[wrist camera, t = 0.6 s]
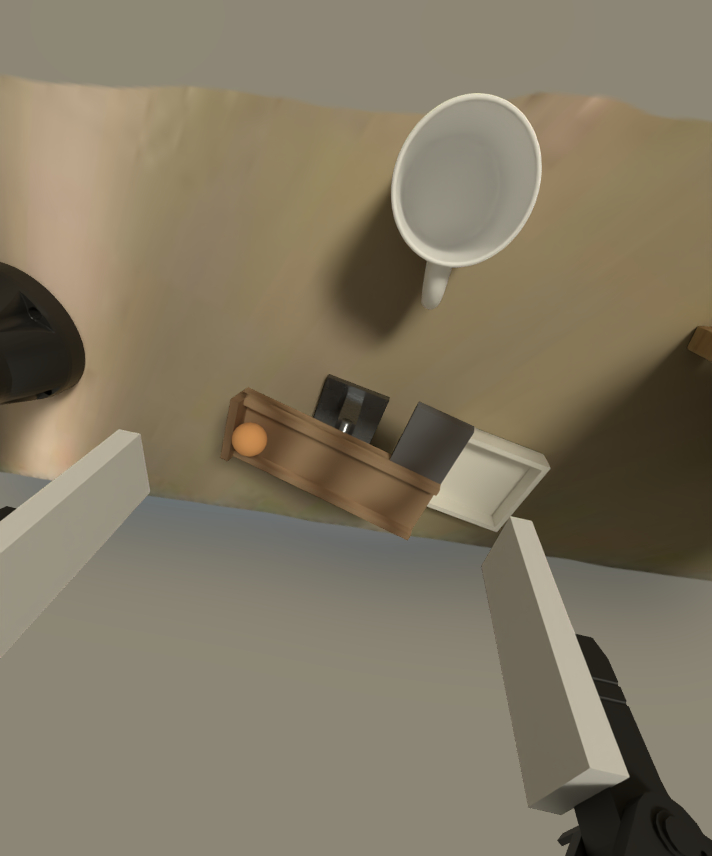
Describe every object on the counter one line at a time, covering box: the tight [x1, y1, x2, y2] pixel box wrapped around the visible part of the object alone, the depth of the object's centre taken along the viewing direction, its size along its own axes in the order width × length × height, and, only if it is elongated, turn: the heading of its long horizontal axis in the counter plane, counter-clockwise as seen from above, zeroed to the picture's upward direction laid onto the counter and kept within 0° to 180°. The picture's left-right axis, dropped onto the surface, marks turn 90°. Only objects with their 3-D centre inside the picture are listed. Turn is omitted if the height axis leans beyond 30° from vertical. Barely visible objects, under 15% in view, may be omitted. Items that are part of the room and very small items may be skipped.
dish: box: [427, 428, 551, 532], centre depth 42 cm, size 11×11×3 cm
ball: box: [232, 422, 267, 457], centre depth 34 cm, size 3×3×3 cm
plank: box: [220, 388, 474, 540], centre depth 33 cm, size 20×13×3 cm, turn 71°
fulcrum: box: [314, 374, 390, 444], centre depth 39 cm, size 7×10×7 cm
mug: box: [391, 93, 542, 309], centre depth 26 cm, size 12×8×10 cm
